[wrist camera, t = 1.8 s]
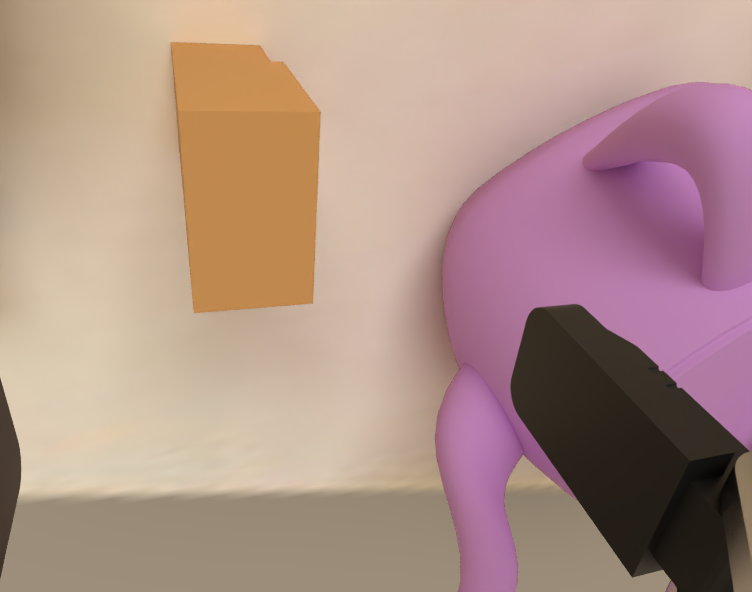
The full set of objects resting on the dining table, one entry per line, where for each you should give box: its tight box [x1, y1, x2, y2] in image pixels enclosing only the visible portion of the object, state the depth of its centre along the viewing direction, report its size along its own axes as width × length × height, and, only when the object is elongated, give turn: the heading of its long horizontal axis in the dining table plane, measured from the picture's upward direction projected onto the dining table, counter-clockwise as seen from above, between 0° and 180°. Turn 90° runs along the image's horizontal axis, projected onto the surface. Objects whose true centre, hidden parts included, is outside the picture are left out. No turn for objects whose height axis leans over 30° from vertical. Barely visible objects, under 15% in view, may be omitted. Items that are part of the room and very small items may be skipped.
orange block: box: [171, 42, 321, 313], centre depth 19 cm, size 3×5×10 cm, turn 175°
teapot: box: [435, 82, 752, 592], centre depth 24 cm, size 23×21×15 cm
